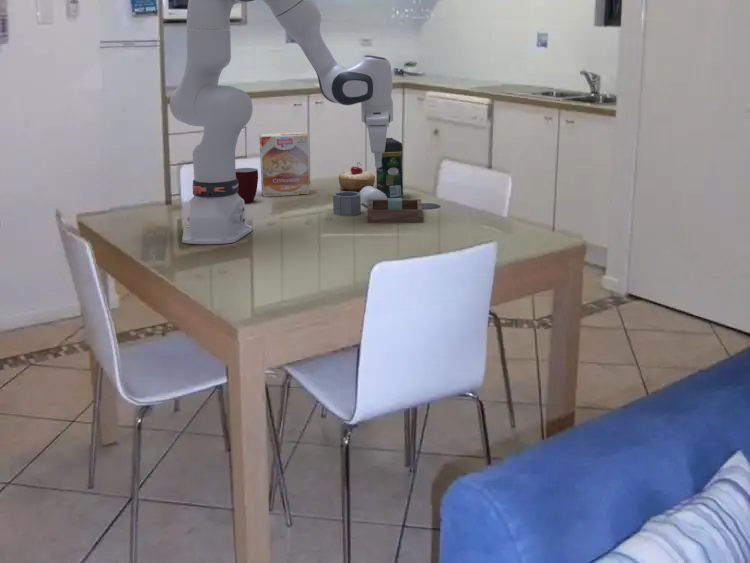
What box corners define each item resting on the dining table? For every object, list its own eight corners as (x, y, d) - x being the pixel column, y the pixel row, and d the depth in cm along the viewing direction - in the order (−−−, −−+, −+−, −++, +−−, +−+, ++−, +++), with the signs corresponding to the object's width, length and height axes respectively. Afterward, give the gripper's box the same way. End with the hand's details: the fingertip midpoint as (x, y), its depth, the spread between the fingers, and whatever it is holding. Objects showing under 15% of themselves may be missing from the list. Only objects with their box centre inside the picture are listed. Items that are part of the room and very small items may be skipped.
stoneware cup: (360, 217, 264) (359, 196, 262) (333, 217, 264) (332, 196, 263) (361, 211, 272) (360, 191, 270) (334, 211, 272) (334, 191, 270)
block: (402, 218, 260) (402, 200, 258) (387, 218, 260) (387, 200, 258) (402, 215, 263) (402, 197, 262) (388, 215, 264) (388, 197, 262)
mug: (221, 203, 286) (219, 171, 283) (233, 198, 293) (231, 167, 290) (252, 204, 283) (251, 172, 280) (263, 199, 290) (262, 168, 287)
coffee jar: (374, 194, 296) (373, 136, 291) (397, 193, 298) (397, 135, 293) (380, 200, 287) (380, 140, 282) (405, 198, 289) (405, 139, 283)
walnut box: (422, 224, 254) (422, 210, 253) (367, 224, 255) (367, 210, 254) (421, 212, 269) (421, 199, 268) (369, 213, 269) (369, 199, 268)
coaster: (441, 211, 270) (441, 209, 270) (410, 211, 271) (410, 209, 271) (439, 205, 279) (439, 203, 279) (410, 205, 279) (410, 203, 279)
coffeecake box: (263, 197, 294) (260, 136, 289) (261, 193, 301) (258, 133, 295) (309, 194, 297) (307, 134, 292) (306, 190, 304) (304, 131, 299)
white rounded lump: (391, 197, 272) (375, 187, 270) (380, 214, 273) (364, 205, 270) (381, 192, 281) (365, 182, 278) (371, 208, 281) (355, 199, 279)
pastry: (334, 192, 301) (333, 165, 299) (345, 185, 312) (344, 159, 310) (369, 193, 298) (368, 166, 296) (379, 187, 309) (378, 160, 306)
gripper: (366, 110, 266) (367, 158, 270) (365, 119, 247) (366, 170, 251) (388, 110, 266) (389, 157, 270) (388, 119, 246) (389, 170, 251)
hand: (378, 164), depth 260 cm, fingers open, 8 cm apart
